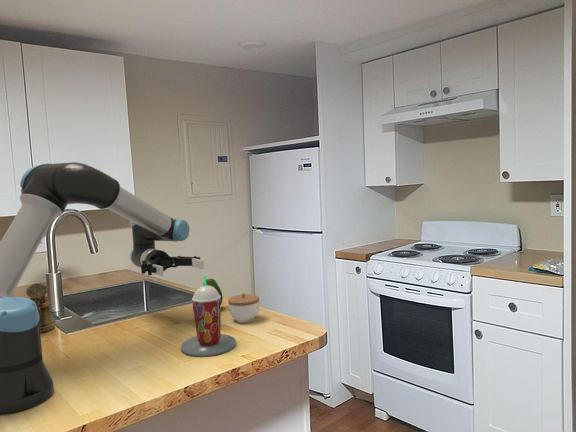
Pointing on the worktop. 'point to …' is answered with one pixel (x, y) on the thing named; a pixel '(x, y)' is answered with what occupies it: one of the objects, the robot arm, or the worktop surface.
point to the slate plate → (208, 347)
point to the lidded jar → (244, 307)
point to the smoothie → (207, 314)
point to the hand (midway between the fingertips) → (182, 268)
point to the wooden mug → (41, 306)
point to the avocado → (214, 284)
